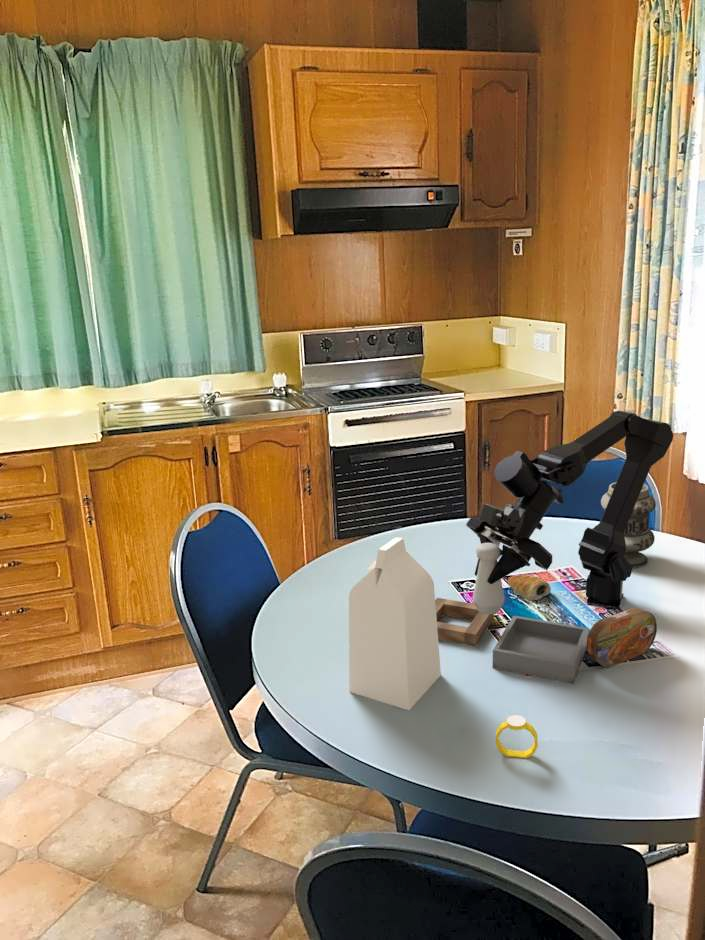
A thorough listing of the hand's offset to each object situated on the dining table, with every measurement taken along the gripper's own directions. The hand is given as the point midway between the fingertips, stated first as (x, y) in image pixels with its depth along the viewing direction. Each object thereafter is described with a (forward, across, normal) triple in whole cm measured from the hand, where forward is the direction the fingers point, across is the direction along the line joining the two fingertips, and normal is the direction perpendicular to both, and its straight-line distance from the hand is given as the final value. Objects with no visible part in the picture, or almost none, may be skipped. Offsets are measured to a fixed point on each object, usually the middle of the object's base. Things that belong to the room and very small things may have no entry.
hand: (482, 579), depth 140 cm
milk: (+24, +2, -6) cm, 25 cm away
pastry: (-5, -12, +25) cm, 28 cm away
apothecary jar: (-26, -12, +46) cm, 55 cm away
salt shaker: (+4, 0, +6) cm, 7 cm away
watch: (+21, +28, -2) cm, 35 cm away
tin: (-2, +17, +22) cm, 28 cm away
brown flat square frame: (+10, -8, +9) cm, 16 cm away
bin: (+5, +9, +13) cm, 17 cm away
